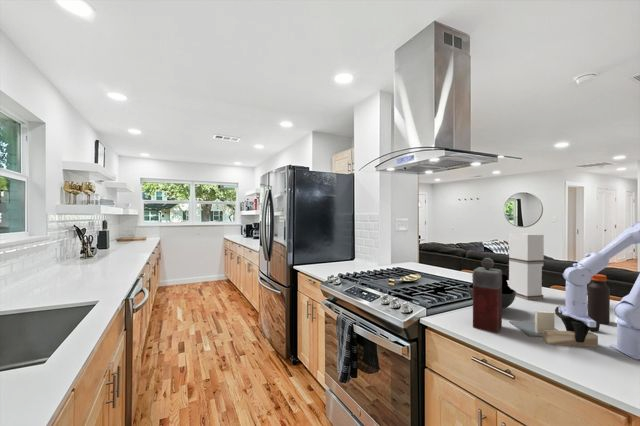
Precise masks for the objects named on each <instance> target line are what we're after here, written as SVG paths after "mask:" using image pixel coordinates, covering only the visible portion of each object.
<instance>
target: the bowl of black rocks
mask: <svg viewBox="0 0 640 426" xmlns="http://www.w3.org/2000/svg"><path fill="white" fill-rule="evenodd" d="M475 269H476V268H474V269H473V271H474V270H475ZM471 277H472V281H473V274H472V275H471ZM508 280H509V276H507V275H506V274H503V273H502V310H504V309H506V308H508V307H510V306H511V305H512V304H513V303H514V301H515V299H516V297H517V296H516V291H515V290H513V289H511V288H510V287H509V282H508ZM467 291H468V294H469V296H470V298H471V299H472V300H473V282H472V283H471V284H468V285H467Z"/></svg>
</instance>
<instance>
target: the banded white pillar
mask: <svg viewBox="0 0 640 426" xmlns="http://www.w3.org/2000/svg"><path fill="white" fill-rule="evenodd" d="M544 235H545V234H538V233H524V232H523V233H521V234H520V233H511V232H509V235H508V237H509V238H508V239H509V241H508V243H509V244H508V246H509V247H508V250H509V251H508V257H509V258H508V260H509V261H508V286H509V287H510V288H511V289H513V290H515V291H516V296H515V297H517V298H521V299H524V300H526V301H532V300H534V301H535V300H544V294H543V292H542V291H543V287H542V282H543V279H542V278H543V277H542V276H543V273H542V272H543V270H542V269H543V267H544V261H545V260H544V259H545V258H544V255H545V253H544V252H545V251H544V250H545V249H544V245H545V244H544V243H545V240H544Z"/></svg>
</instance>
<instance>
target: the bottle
mask: <svg viewBox="0 0 640 426" xmlns="http://www.w3.org/2000/svg"><path fill="white" fill-rule="evenodd" d="M607 277H608V276H607V275H605V274H600V273H597V274H595V275H594V276H592V277H591V281H590V283H588V284H587V316H589V317H590V318H591V319H592V320H594V321H596V322H597V323H599V324H600V325H601V324H602V325H608V324H610V321H611V320H610V318H611V317H610V314H611V313H610V311H611V309H610V307H611V305H610V302H611V298H610V297H611V296H610V294H611V293H610V292H611V291H610V290H611V289H610V287H609V286H608V284H606V283H607V279H608V278H607Z"/></svg>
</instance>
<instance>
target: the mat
mask: <svg viewBox="0 0 640 426" xmlns="http://www.w3.org/2000/svg"><path fill="white" fill-rule="evenodd" d="M509 323H510V324H511V325H512V326H514V327H515V328H517V329H518V330H520V332H522V333H524V334H525V335H526V336H528V337H530V338H531V337H532V338H543V333H536V332H535V321H518V320H509ZM554 330H555V331H560V330H559V329H557V328H555V327H554Z"/></svg>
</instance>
